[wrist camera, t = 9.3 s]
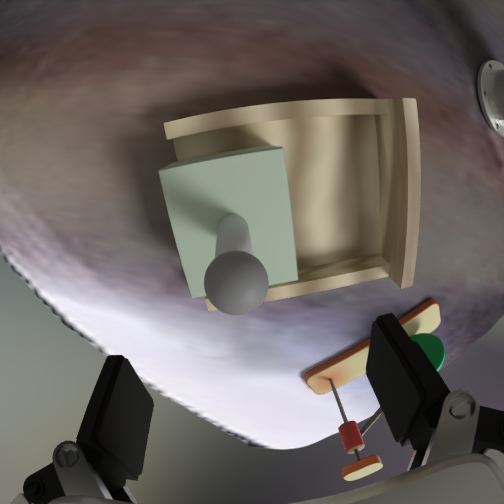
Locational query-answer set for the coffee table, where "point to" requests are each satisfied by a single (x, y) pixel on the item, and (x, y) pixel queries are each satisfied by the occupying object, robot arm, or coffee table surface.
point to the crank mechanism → (355, 366)
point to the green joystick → (232, 224)
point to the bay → (331, 182)
